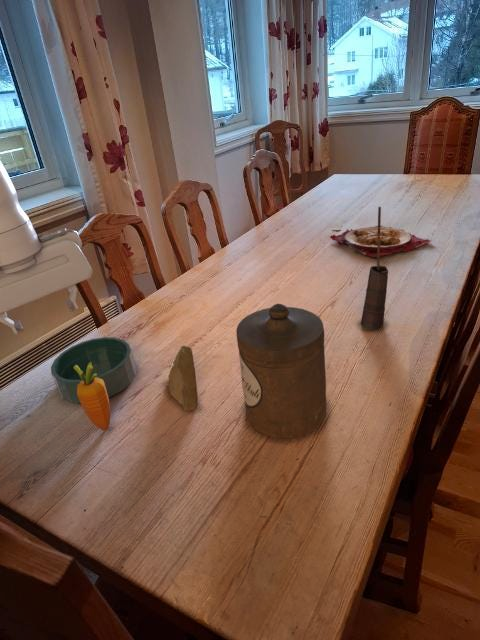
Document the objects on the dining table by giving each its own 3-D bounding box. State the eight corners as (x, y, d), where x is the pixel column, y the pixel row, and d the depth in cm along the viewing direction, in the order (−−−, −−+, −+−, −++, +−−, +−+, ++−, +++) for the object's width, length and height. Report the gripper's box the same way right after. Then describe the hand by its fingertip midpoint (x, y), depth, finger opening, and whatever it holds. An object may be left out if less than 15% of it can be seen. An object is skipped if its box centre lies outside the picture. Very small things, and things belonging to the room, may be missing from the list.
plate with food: (376, 262, 135) (377, 251, 133) (328, 239, 156) (328, 230, 154) (432, 245, 143) (434, 235, 142) (379, 226, 164) (380, 217, 162)
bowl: (61, 415, 85) (52, 392, 82) (58, 372, 99) (50, 351, 96) (143, 388, 90) (137, 365, 87) (129, 351, 104) (123, 330, 101)
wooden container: (249, 385, 87) (238, 288, 77) (323, 384, 85) (322, 284, 74) (242, 439, 75) (227, 331, 64) (328, 439, 72) (328, 328, 62)
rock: (209, 404, 80) (216, 366, 88) (174, 378, 77) (185, 342, 85) (172, 426, 85) (181, 389, 93) (138, 403, 82) (151, 367, 90)
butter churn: (398, 338, 97) (409, 216, 83) (354, 337, 99) (358, 218, 85) (393, 317, 104) (403, 203, 91) (353, 317, 107) (356, 205, 93)
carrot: (87, 430, 81) (63, 365, 73) (112, 417, 83) (90, 353, 76) (98, 444, 77) (74, 377, 70) (123, 430, 80) (102, 364, 72)
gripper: (70, 220, 74) (100, 291, 80) (-59, 265, 66) (-14, 338, 73) (77, 226, 69) (109, 301, 75) (-62, 275, 61) (-13, 353, 68)
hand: (47, 320), depth 74 cm, fingers open, 8 cm apart
